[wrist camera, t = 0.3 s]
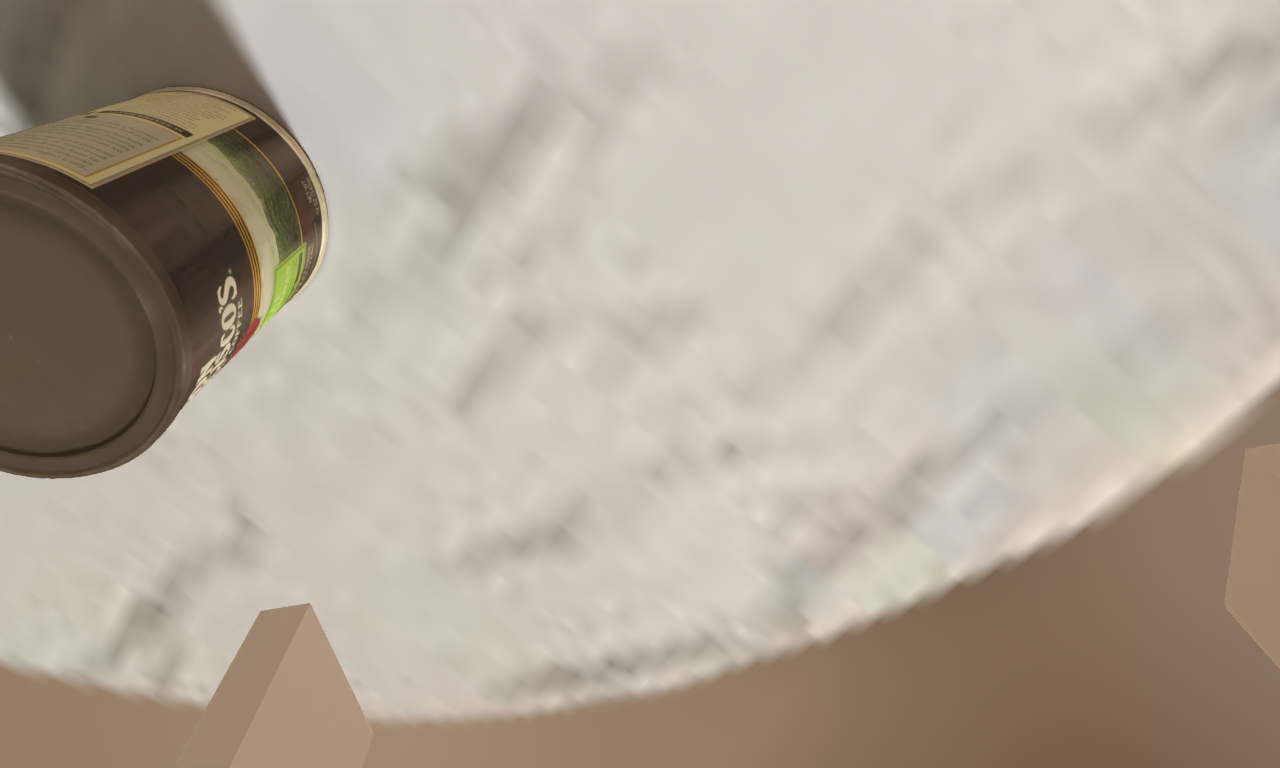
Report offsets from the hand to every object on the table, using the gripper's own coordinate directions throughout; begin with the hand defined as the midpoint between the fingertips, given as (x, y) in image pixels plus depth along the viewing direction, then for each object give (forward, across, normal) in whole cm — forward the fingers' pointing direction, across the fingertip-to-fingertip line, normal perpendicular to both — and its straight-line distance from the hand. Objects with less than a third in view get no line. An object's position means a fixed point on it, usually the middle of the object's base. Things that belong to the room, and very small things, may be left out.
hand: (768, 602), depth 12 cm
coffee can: (+28, -20, +2) cm, 35 cm away
